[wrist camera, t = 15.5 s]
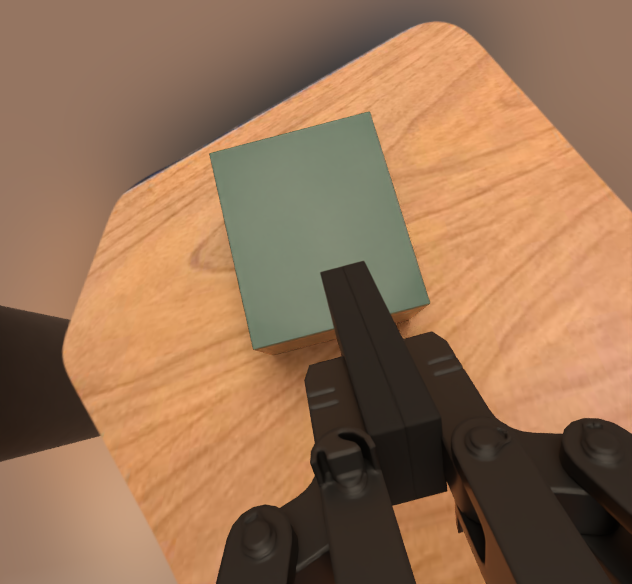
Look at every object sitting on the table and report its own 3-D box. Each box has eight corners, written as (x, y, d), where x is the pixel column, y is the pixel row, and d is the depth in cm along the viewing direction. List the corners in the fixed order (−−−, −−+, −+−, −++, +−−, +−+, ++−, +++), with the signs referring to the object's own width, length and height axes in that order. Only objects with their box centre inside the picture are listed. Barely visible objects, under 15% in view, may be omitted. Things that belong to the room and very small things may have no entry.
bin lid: (212, 158, 36) (208, 153, 35) (369, 117, 36) (369, 111, 35) (255, 350, 33) (253, 349, 32) (428, 305, 33) (430, 303, 32)
